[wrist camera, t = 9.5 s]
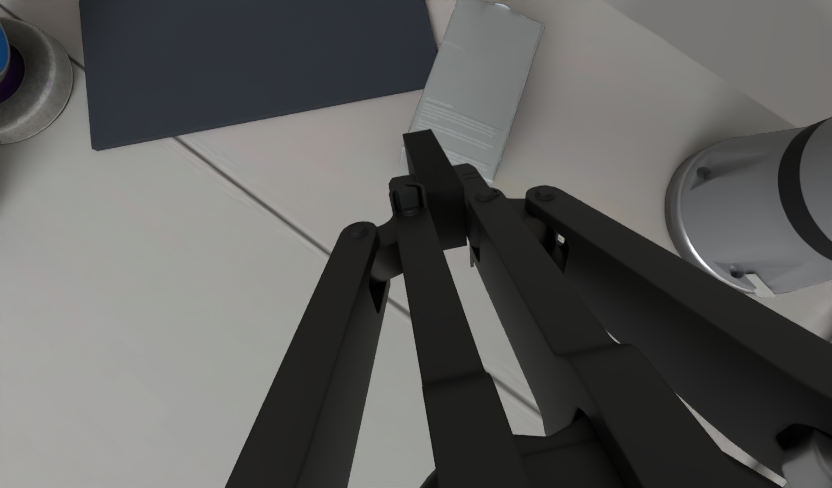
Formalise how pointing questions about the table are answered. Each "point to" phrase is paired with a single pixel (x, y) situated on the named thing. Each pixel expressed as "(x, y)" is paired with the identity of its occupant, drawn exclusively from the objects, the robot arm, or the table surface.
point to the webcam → (30, 80)
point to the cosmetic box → (477, 84)
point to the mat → (242, 61)
